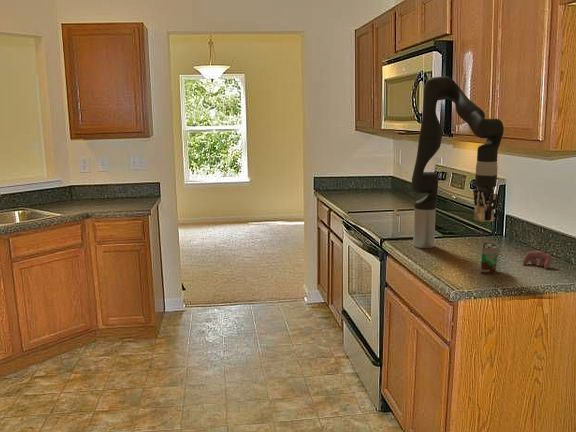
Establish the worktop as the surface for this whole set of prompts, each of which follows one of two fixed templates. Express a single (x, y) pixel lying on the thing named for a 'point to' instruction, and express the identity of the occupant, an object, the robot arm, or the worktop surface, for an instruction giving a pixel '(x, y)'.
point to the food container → (489, 257)
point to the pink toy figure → (538, 254)
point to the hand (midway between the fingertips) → (484, 218)
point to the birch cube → (482, 214)
